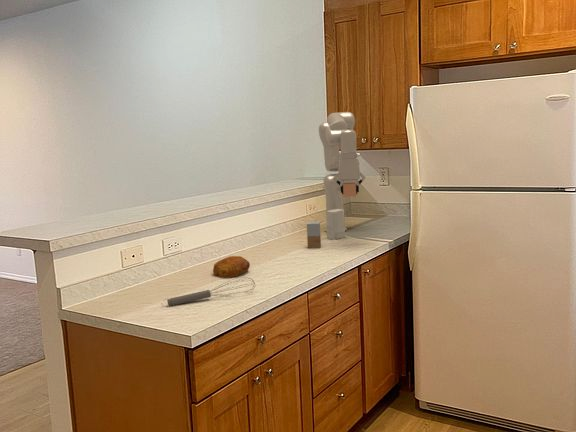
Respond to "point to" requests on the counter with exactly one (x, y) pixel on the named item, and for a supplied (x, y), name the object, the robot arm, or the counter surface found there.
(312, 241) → the walnut block
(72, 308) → the counter surface
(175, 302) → the kitchen whisk
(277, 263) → the counter surface
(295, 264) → the counter surface
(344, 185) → the terracotta block
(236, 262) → the brown bread loaf
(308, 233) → the slate block
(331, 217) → the skincare box
